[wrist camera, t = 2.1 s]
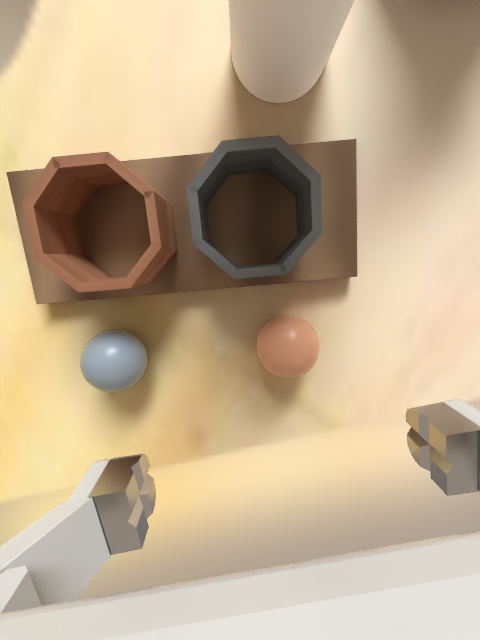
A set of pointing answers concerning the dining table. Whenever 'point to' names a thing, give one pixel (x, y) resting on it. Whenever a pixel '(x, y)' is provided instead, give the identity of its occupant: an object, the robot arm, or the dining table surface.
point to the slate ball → (113, 360)
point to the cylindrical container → (283, 44)
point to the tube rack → (188, 219)
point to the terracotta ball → (287, 346)
